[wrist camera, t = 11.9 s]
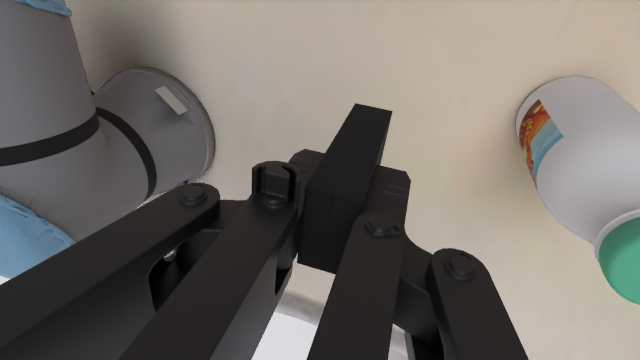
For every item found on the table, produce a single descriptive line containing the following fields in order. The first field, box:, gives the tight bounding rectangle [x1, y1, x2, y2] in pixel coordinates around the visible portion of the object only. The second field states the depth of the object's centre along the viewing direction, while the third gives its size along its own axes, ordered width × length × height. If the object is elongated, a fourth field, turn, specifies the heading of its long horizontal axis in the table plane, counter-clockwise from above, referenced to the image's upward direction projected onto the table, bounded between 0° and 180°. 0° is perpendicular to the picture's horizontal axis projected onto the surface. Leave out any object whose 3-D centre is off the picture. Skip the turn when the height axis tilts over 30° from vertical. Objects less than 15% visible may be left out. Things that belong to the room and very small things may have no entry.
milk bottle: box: [516, 76, 640, 305], centre depth 25 cm, size 8×8×20 cm
